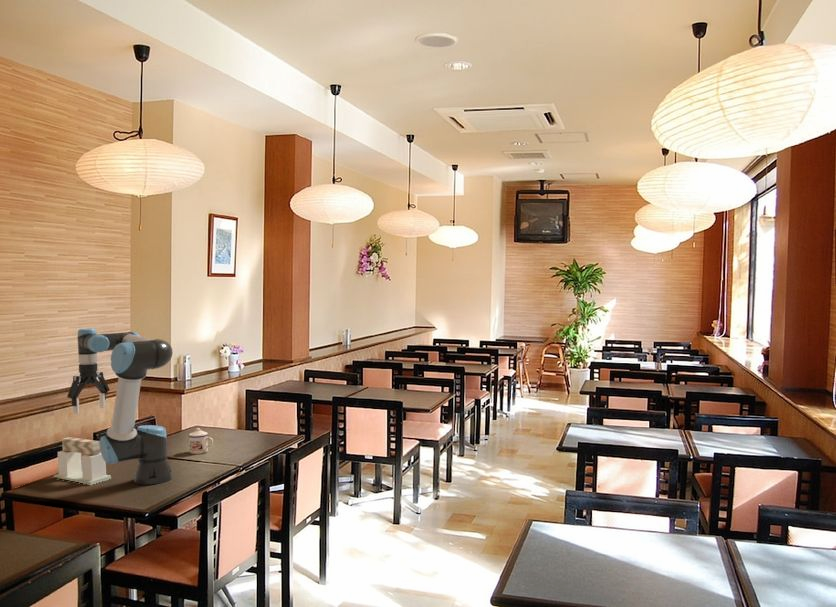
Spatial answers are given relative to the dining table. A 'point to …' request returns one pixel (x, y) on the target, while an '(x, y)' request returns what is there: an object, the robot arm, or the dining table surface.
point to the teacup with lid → (199, 442)
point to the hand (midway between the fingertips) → (89, 410)
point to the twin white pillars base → (81, 468)
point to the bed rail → (81, 446)
